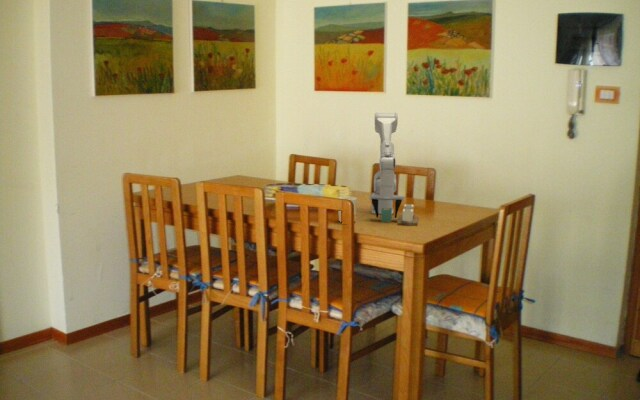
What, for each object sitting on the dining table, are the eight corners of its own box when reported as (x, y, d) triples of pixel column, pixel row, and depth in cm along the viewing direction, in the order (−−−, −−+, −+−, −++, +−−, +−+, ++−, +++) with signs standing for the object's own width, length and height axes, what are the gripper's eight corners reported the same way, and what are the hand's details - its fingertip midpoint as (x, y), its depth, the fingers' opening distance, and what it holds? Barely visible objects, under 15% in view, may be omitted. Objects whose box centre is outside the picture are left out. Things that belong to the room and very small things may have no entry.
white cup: (343, 219, 292) (343, 195, 291) (359, 221, 288) (360, 197, 287) (334, 222, 286) (334, 198, 284) (351, 224, 282) (351, 200, 280)
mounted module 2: (402, 220, 280) (402, 210, 280) (402, 218, 285) (403, 208, 284) (412, 221, 280) (412, 211, 279) (412, 218, 284) (412, 209, 283)
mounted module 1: (403, 215, 291) (403, 205, 290) (404, 213, 295) (404, 204, 295) (413, 215, 290) (413, 206, 290) (413, 213, 295) (413, 204, 294)
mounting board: (397, 225, 281) (397, 220, 281) (399, 217, 296) (399, 213, 296) (417, 225, 280) (417, 221, 279) (418, 217, 295) (418, 213, 295)
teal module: (381, 221, 288) (381, 209, 287) (382, 219, 292) (382, 207, 291) (390, 222, 287) (391, 210, 286) (391, 219, 291) (391, 208, 290)
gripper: (368, 186, 284) (368, 218, 286) (404, 187, 282) (403, 219, 284) (370, 183, 291) (369, 215, 293) (404, 184, 289) (404, 216, 291)
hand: (386, 217), depth 289 cm, fingers open, 7 cm apart
